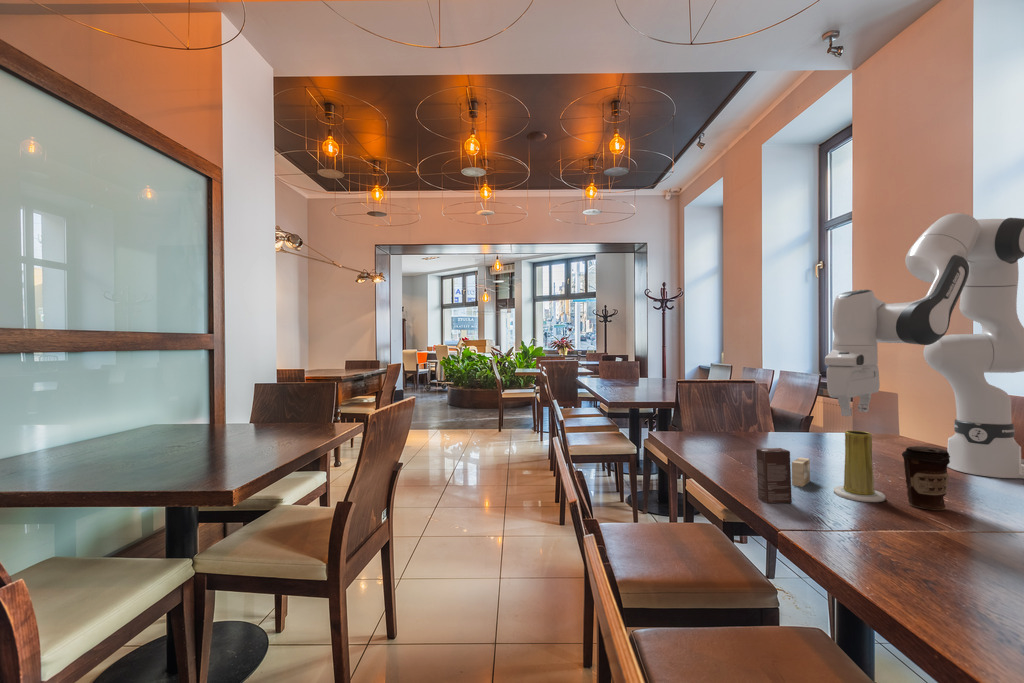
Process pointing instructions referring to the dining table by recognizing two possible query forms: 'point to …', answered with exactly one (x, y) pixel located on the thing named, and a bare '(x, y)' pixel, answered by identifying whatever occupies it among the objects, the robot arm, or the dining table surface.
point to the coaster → (864, 498)
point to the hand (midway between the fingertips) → (855, 413)
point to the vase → (858, 463)
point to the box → (774, 475)
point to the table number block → (800, 471)
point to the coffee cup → (926, 476)
